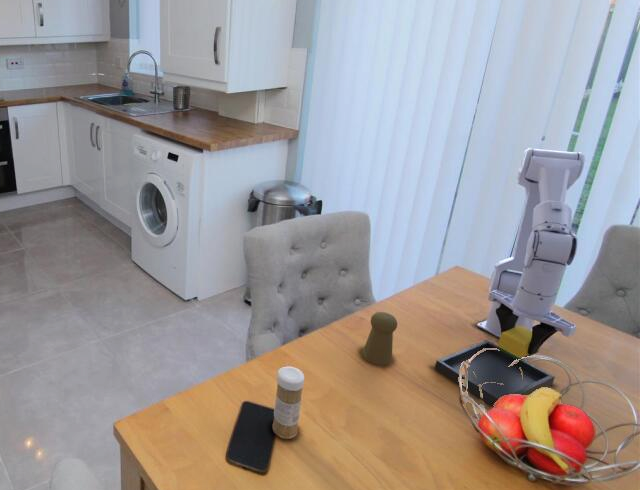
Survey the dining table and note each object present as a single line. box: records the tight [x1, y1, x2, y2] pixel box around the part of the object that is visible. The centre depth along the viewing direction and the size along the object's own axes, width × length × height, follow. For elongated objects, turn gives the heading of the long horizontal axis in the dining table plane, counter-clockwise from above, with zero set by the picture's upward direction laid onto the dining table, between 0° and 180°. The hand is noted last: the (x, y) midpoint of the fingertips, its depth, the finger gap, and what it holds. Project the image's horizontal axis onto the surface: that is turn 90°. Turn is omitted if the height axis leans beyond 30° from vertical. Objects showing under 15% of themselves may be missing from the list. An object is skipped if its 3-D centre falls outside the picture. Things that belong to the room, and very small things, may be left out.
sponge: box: [497, 325, 540, 361], centre depth 99 cm, size 6×4×4 cm
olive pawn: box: [362, 311, 398, 367], centre depth 107 cm, size 6×6×11 cm
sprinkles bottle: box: [271, 365, 305, 440], centre depth 88 cm, size 5×5×14 cm
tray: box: [434, 339, 556, 407], centre depth 101 cm, size 17×14×2 cm
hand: (518, 345), depth 99 cm, fingers closed on sponge, 4 cm apart
